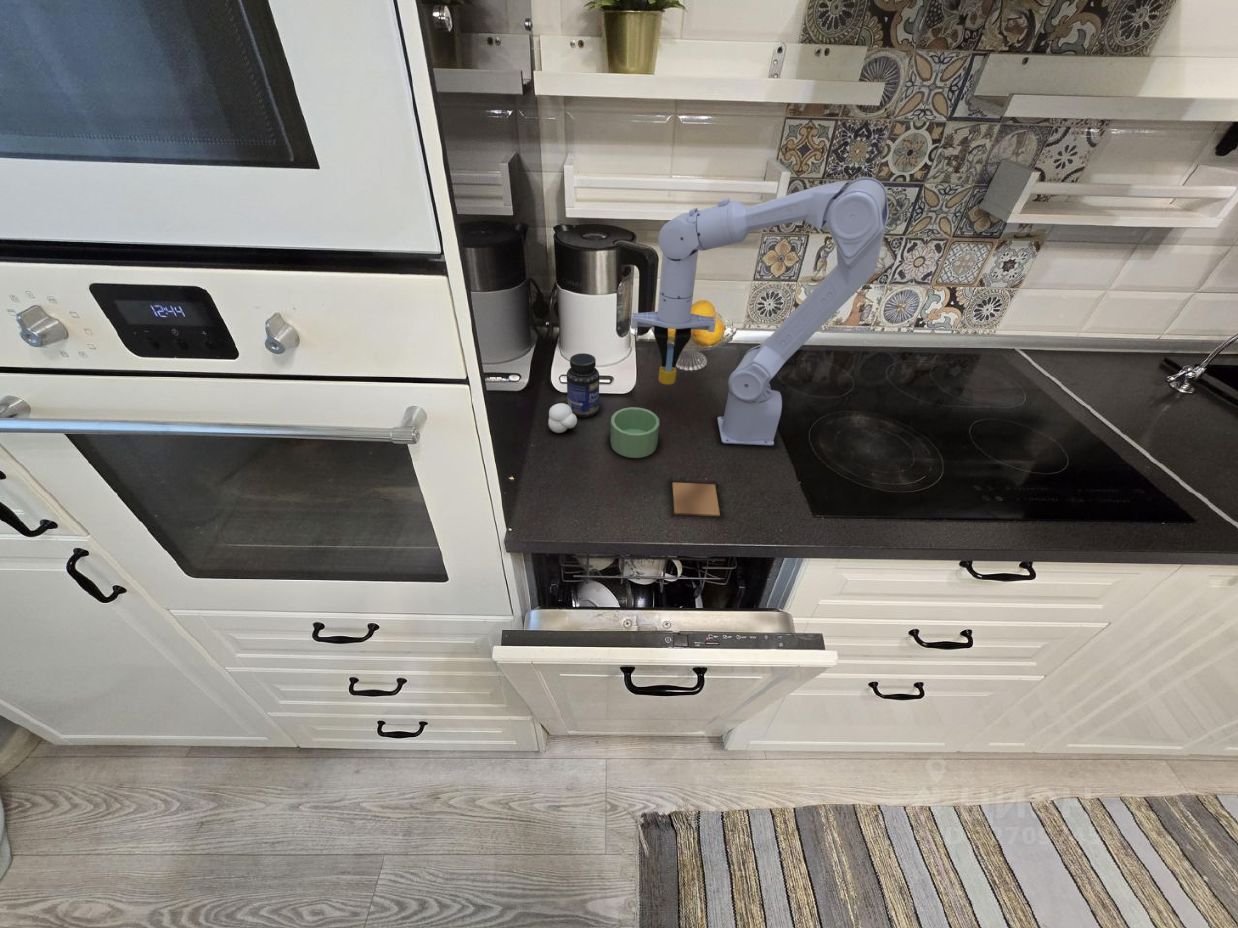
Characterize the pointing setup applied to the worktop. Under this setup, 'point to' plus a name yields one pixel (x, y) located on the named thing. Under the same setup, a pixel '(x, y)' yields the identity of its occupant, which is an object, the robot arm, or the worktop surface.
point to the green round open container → (634, 432)
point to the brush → (668, 368)
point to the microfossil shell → (561, 418)
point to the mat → (695, 499)
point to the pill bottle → (583, 385)
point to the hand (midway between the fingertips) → (668, 364)
